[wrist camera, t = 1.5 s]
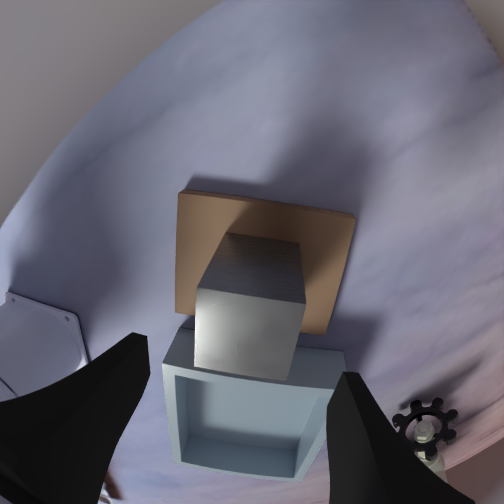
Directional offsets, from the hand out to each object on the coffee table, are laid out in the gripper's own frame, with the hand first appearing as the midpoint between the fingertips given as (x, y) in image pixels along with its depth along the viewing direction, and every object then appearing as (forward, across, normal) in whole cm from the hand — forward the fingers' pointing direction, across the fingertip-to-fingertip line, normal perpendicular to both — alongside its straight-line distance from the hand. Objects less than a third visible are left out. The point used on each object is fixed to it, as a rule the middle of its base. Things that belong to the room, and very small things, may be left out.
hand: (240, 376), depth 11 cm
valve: (+10, -19, +16) cm, 27 cm away
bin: (+10, -1, +13) cm, 16 cm away
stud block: (+10, 0, 0) cm, 10 cm away
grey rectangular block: (+9, 0, 0) cm, 9 cm away
